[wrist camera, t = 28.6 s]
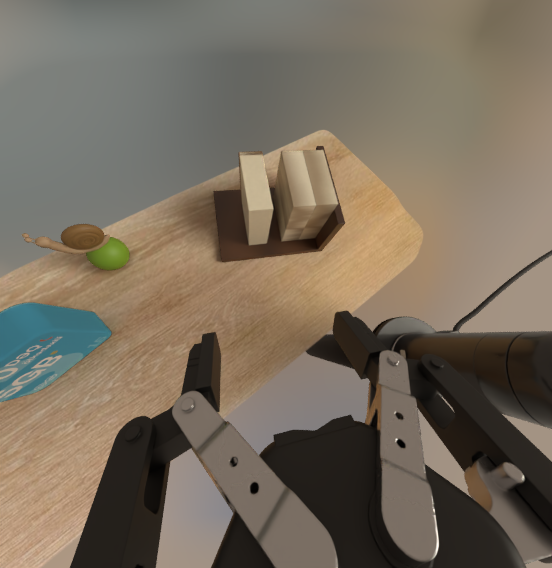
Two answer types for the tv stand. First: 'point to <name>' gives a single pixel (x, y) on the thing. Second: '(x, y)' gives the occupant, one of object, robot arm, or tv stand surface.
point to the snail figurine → (88, 246)
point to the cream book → (255, 197)
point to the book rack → (285, 210)
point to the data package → (43, 345)
